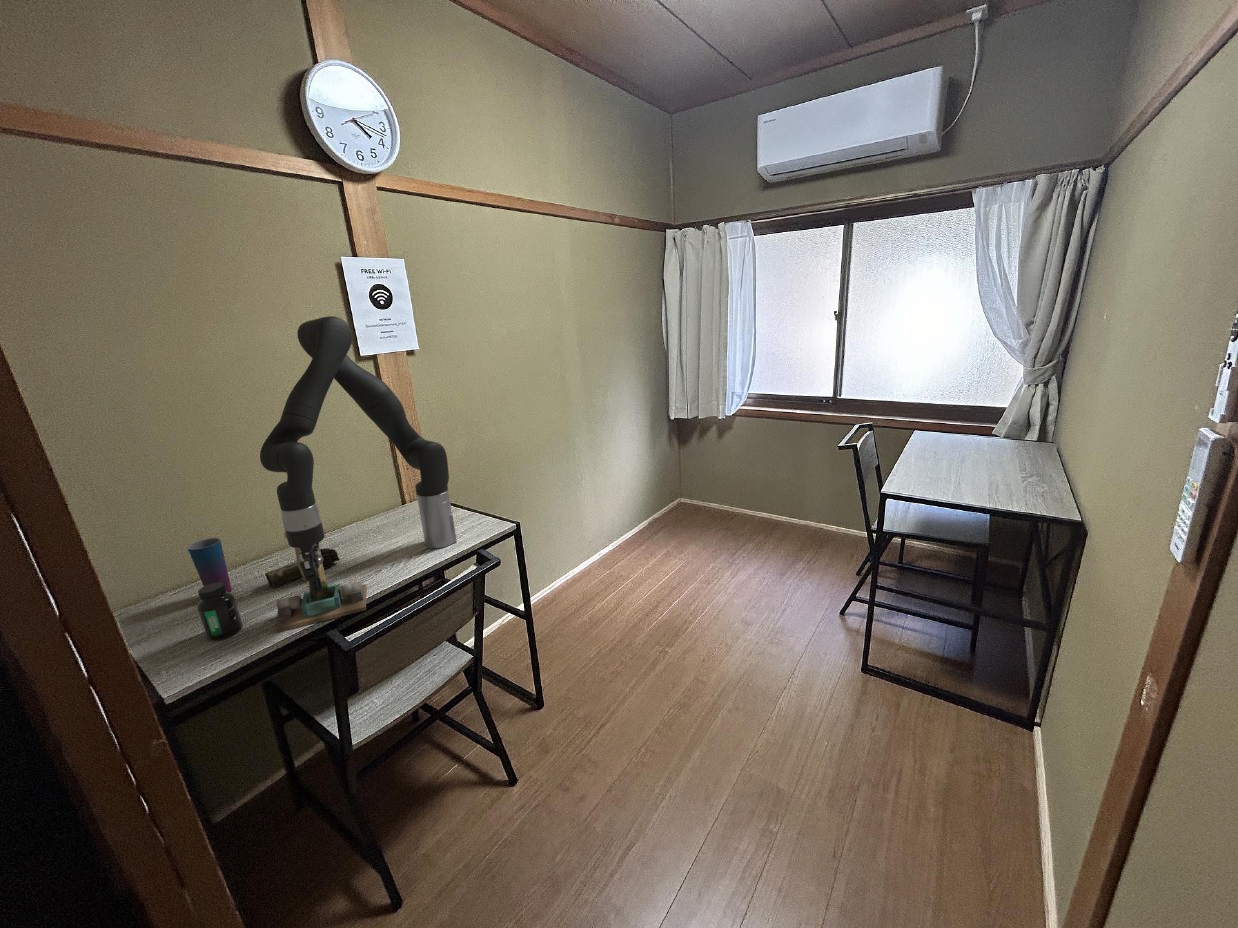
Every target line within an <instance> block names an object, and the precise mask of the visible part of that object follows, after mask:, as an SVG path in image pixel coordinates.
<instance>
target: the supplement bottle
mask: <svg viewBox="0 0 1238 928" xmlns="http://www.w3.org/2000/svg"><path fill="white" fill-rule="evenodd" d="M226 591H227V590H226V588H225V585H224V583H221V582H218V583H212V584H209V585H206V586H202V587H200V588H199V589H198V590H197V593H198V598H199V602H198V603H197V606H196V609H197V612H198V615H199V618H200V619H199V620H200V622H201V624H202V627H203V631H204V633H205V636H206V638H207V639H208V640H209V641H212V642H213V641H214V642H216V641H217V642H218V641H223V640H225V639H229V638H231V637H233V636H235V635H236V634H238V633H239V632H240V631H241V630H242V629H243V627H244V624H243V620H242V618H241V614H240V610H239V608H238V604H237V601H236V598H235V596H234V594H233V593H232V592H231V593H229V592H226Z"/></svg>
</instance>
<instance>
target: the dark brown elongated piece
mask: <svg viewBox="0 0 1238 928" xmlns="http://www.w3.org/2000/svg"><path fill="white" fill-rule="evenodd" d="M320 551H321V555H322V557H323V562H322V564H323V568H324V569H329V568H332V567H333V566H332V565H334V563H335V562H336V561H337V562H338V561H340V560H341V558H339V555H338V552H337V550H336V549H334V548H331V549H330V548H320ZM300 577H302V574H301V572H300V570H299V567H298V563H297V561H296V562H294V563H290V564H288V565H284V566H282V567H279V568H277V569H273V570H271V571H268V572H266V573H265V578H266V580H267V582H268V584H269V587H271V589H274V588H277V587H279V586H281V585H283V584H286V583H288V582H291V581H293V580H295V579H297V578H300Z"/></svg>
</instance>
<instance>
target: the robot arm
mask: <svg viewBox="0 0 1238 928" xmlns="http://www.w3.org/2000/svg"><path fill="white" fill-rule="evenodd" d="M296 335H297V340H298V342H299V344H300V347H301V348H302V349H303V350H304V351H305V353H306V354H307V355H308V356H309V357H311V361H310V363H309V365H308V366H307V368H306V370H305V371H304V372H303V374H302V375H301V377H300V378H299V380H298V381H297V382H296V383H295V385H294V386H293V388H292V389H291V391H290V392H289V394H288V397H287V399H286V402H285V405H284V407H283V411H282V413H281V416H280V419H279V421H278V423H277V424H276V425H275V427H273V429H272V430H271V432H270V433H269V435H268V436H267V438H266V439H265V441H264V442H263V444H262V446H261V448H260V453H259V460H260V463H261V466H262V467H263V468H264V469H265V470H267V471H270V472H274V473H286V475H287V476H286V477H287V478H286V479H287V480H286V481H284V482H282V483H280V484H279V485H277V488H276V496H277V499H278V504H279V507H280V512H281V520H282V524H283V528H284V531H285V532H286V536H287V539H286V541H287V543H288V546H289V547H291V548H293V549H295V548H300V549H301V552H300V553H299V557H300V560H301V561H302V562H300V566H301V568H302V571H303V573H304V576H305V580H306V581H305V580H304V581H305V582H307V581H309V582H310V586H311V590H312V593H317V592H321V591H322V589H323V588H322V584H321V580H320V574H319V567H320V562H319V555H321V551H320V549H321V545H320V542H322V541H323V540H324V539H325V531H324V526H323V522H322V518H321V517H322V516H321V514H320V510H319V507H318V506H317V501H316V498H315V493H314V490H313V479H314V477H313V476H314V466H315V465H314V464H315V460H314V455H313V453H312V451H311V449H310V448H309V446H308V445H306V444H305V443H303V442H299V440H300V439H302V438H304V437H308V436H310V435H311V434H312V433H314V431H315V428H316V427H317V422H318V419H319V417H320V413H321V410H322V407H323V404H324V401H325V398H326V397H327V393H328V391H329V390H330V387H331V385H332V384H333V382H334V381H333V380H335V381H336V382H337V383H338V384H339V385H340V387H341V388H342V389H343V390H344V391H345V392H346V394H348V396H349V397H351V399H353V401H355V403H356V404H357V406H358V407H359V408H360V409H361V410H362V411H363V413H365V415H366V416H367V417H368V418H369V419H370V420H371V421H372V422H373V423H374V424H375V425H376V426H377V428H379V430H380V431H381V432H382V433H383V434H384V435H385V436H386V437H388V439H389V440H390V441H391V443H393V445H394V446H395V448H396V449H397V451H398V452H399V454H400V455H401V456H402V458H403V459H404V461H405V462H406V463H407V464H408V465H409V467H411V468H413V469H415V470H419V474H420V481H419V482H418V483H417V482H416V485H415V494H416V498H417V499H416V500H417V505H418V511H419V515H420V521H421V526H422V533H423V541H424V545H425V546H426V548H429V549H442V548H445V547H448V546H451V545H452V544H456V543H458V540H457V533H456V529H455V528H456V527H455V521H454V515H453V512H452V505H451V501H450V494H449V487H448V484H449V480H450V473H449V463H448V456H447V452H446V450H445V447H444V446H443V445H442V444H441V443H440V442H436V441H431V440H427V439H425V438H423V437H422V436H420V434H418V432H417V431H416V430H415V429H414V427H412V426H411V424H410V423H409V420H408V418H407V414H406V411H405V409H404V406H403V404H402V402H401V400H400V399H399V397H398V396H397V395H396V394H395V392H393V390H392V389H391V388H390V386H388V385H387V384H386V382H384V381H383V380H382V379H380V378H379V377H378V376H376V375H374V374H373V373H371V372H369V371H367V370H366V369H364V368H363V367H361V366H360V365H359V364H357V363H356V362H355V361H353V360H352V359H351V358H350V356H349V355H348V353H349V351H350V349H351V346H352V344H353V339H354V338H353V337H354V336H353V331H352V329H351V327H350V326H349V324H348V323H347V322H346V321H345V320H344V319H342V318H341V317H339V316H331V315H329V316H323V317H319V318H315V319H311V320H307V321H305V322H302V323H301V324H300V325H299V326H298V329H297V333H296ZM285 532H284V533H285ZM315 562H316V563H317V564H316V565H315V564H314V563H315ZM310 573H314V574H311V575H310Z"/></svg>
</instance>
